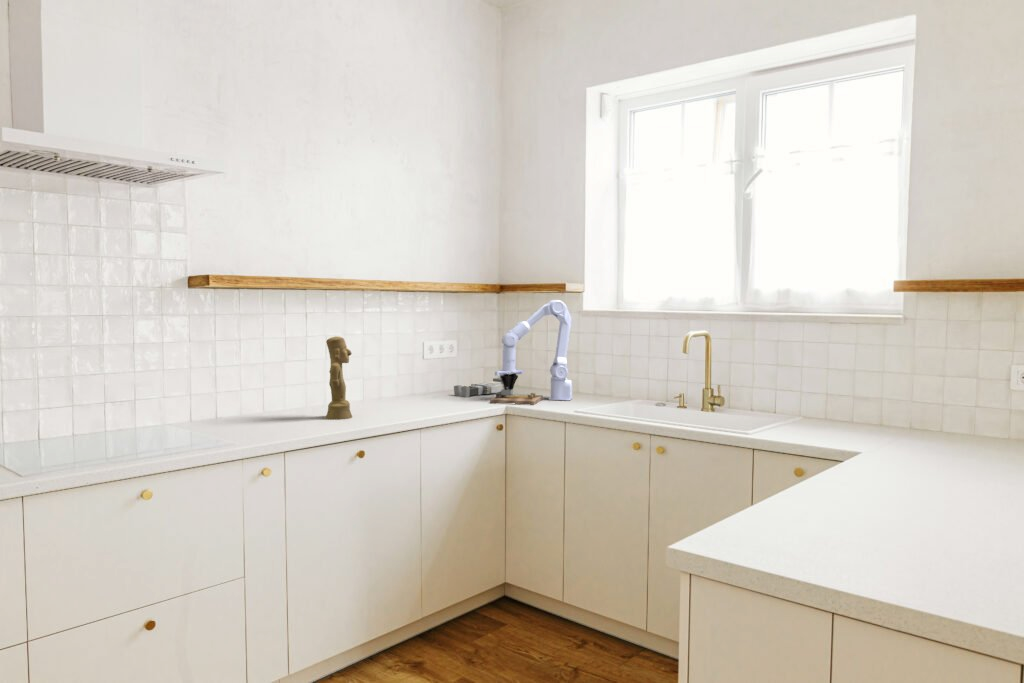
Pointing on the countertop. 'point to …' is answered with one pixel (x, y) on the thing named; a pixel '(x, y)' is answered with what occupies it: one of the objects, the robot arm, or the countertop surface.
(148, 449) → the countertop surface
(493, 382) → the toy figure
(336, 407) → the statue
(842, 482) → the countertop surface
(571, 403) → the countertop surface
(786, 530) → the countertop surface
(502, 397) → the brown wooden board
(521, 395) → the yellow rectangular block
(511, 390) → the knobbed plate
